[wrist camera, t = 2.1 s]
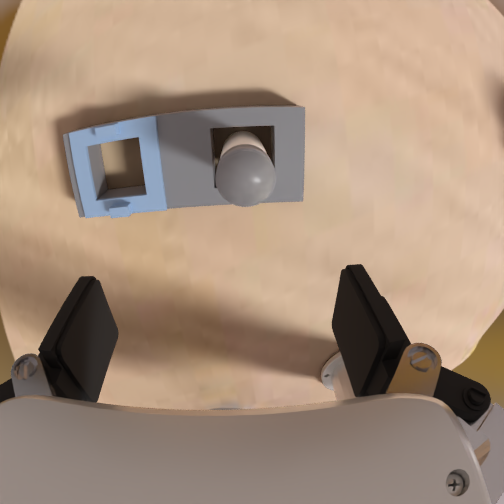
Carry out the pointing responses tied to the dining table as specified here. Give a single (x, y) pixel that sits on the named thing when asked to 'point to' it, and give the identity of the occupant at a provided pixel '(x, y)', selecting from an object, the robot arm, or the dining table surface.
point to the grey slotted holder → (181, 158)
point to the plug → (244, 170)
